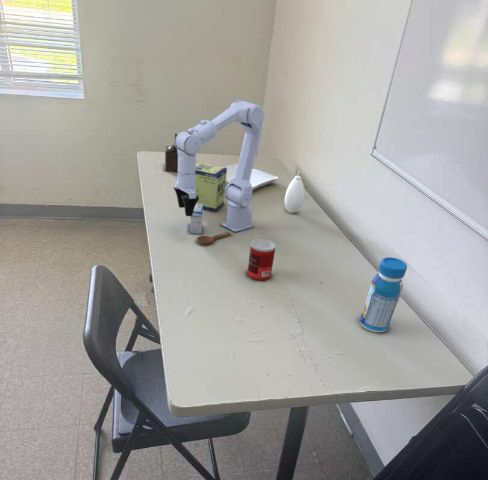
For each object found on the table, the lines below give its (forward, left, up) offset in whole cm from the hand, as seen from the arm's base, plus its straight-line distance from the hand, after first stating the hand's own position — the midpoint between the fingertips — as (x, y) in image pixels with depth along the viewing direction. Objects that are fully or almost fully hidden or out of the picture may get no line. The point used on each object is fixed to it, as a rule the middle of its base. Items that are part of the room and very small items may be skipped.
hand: (185, 211), depth 153 cm
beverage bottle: (-10, +73, -10) cm, 75 cm away
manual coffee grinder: (-48, -64, -10) cm, 81 cm away
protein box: (-27, -22, -10) cm, 37 cm away
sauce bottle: (-55, +4, -10) cm, 56 cm away
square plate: (-62, -35, -10) cm, 72 cm away
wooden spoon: (-9, +6, -10) cm, 15 cm away
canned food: (-3, +34, -10) cm, 36 cm away
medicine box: (-8, -4, -10) cm, 14 cm away
